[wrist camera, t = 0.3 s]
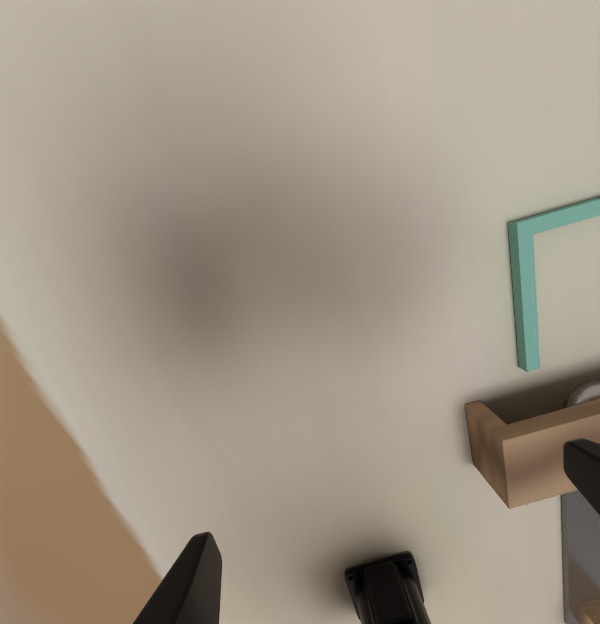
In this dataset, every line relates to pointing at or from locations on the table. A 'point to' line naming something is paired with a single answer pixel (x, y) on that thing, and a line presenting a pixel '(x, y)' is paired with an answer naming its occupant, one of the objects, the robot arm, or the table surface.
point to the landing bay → (525, 272)
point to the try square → (580, 559)
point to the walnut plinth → (528, 450)
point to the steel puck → (583, 393)
